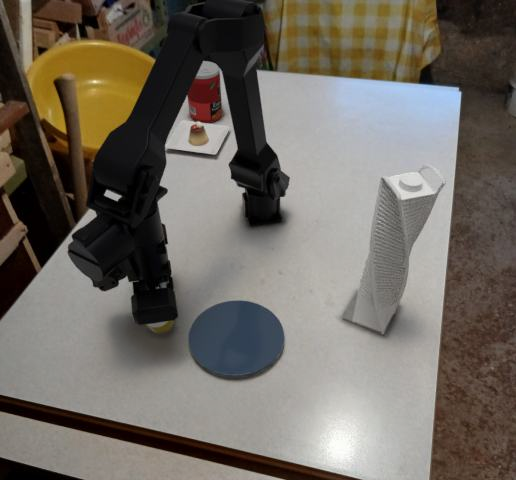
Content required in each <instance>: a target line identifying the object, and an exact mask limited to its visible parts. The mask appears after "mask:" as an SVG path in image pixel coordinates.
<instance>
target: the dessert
mask: <svg viewBox="0 0 516 480" xmlns="http://www.w3.org/2000/svg"><path fill="white" fill-rule="evenodd" d="M230 129H231V125H224V124H216V123H215V124H214V123H201V122H199V121H198V122H197V121H192V120H184V119H182V120H180V122H179V123H178V125H177V126H176V128H175V130H174V131H173V133H172V135H171V136H170V138H169V139H168V141H166V144H165V149H169V150H175V151H183V152H191V153H197V154H206V155H214V156H215V155H217V154H218V152H219V150H220V148H221V146H222V144H223V142H224V141H225V139H226V136H227V135H228V132H229V130H230Z"/></svg>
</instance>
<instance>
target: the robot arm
mask: <svg viewBox="0 0 516 480" xmlns="http://www.w3.org/2000/svg"><path fill="white" fill-rule="evenodd" d="M265 29H266V23H265V17H264V14H263V10H262V7H261V6H260V5H259V4H257V3H255V2H253V1H249V0H205V1H204V2H203V1H202V2H199V3H198V2H197V3H194V4H189V5H187V7H186V8H185V10H184V11H179V12H175V13H173V14H172V15H171V16H170V18H169V19H168V23H167V26H166V34H167V35H166V37H165V39H164V41H163V43H162V45H161V47H160V50H159V52H158V54H157V56H156V58H155V60H154V63H153V64H152V67H151V69H150V71H149V73H148V76H147V78H146V80H145V82H144V84H143V86H142V89H141V90H140V93H139V95H138V97H137V99H136V101H135V104H134V105H133V108H132V109H131V111H130V114H129V116H128V117H127V119H126V120H125V121H124V122H123V123H122V124H120V125H119V126H116V127H115V128H114V129H113V130H111V131H110V132H109V133H108V135H107V136H106V138H105V139H104V140H103V142H102V144H101V145H100V147H99V148H98V150H97V151H96V153H95V156H94V158H93V162H92V171H91V176H90V181H89V186H88V192H87V197H86V202H85V207H86V208H87V209H90V210H92V211H94V212H95V215H96V216H95V217H94V218H93V219H92V220H89V222H88V223H86V224H85V225H84V226H82V227H80V228H78V229H77V230H75V231H74V232H73V233H72V234H71V236H70V237H71V240H72V241H71V242H70V243H69V244H68V246H67V251H66V252H67V255H68V257H69V259H70V260H71V262H72V263H73V265H74V266H75V268H76V269H78V270H79V272H80V273H82V274H83V275H84V276H85V277H87V278H88V279H89V280H90V281H91V282H92V287H93V288H96V289H97V288H98V290H99V291H101V292H107V291H110V290H113V289H116V288H117V287H119V285H120V281H122V280H124V279H125V278H127V280H128V283H132V293H133V294H132V295H131V296H130V304H131V316H132V319H133V322H134V324H136V325H137V326H146V324H152V323H159V322H166V321H173V320H175V321H176V320H177V319H178V318H179V310H178V304H177V297H176V292H175V287H174V286H175V285H174V280H173V276H172V274H173V273H172V272H173V271H172V265H171V260H170V259H169V254H168V248H167V245H169V240H168V233H167V227H166V224H165V223H163V222H162V218H161V212H160V207H159V201H160V200H161V199H162V198H163V197H164V196H166V195H167V194H168V193H169V190H168V188H167V187H164V186H163V185H161V183H162V178H163V175H164V173H165V170H166V167H167V164H168V163H167V152H166V148H165V145H166V144H167V142H168V141H167V140H168V138H169V135H170V133H171V131H172V129H173V126H174V124H175V122H176V120H177V118H178V116H179V114H180V112H181V110H182V108H183V105H184V103H185V100H186V99H187V98H188V96H187V95H188V92H189V90H190V88H191V86H192V84H193V82H194V80H195V78H196V75H197V73H198V71H199V69H200V67H201V65H202V63H203V61H205V58H206V56H209V57H210V58H211V60H212V62H213V63H215V64H217V66H218V67H219V70H220V72H221V75H222V79H223V83H224V89H225V94H226V99H227V103H228V108H229V113H230V119H231V123H232V127H233V133H234V137H235V143H236V147H237V149H236V151H235V153H234V155H233V156H232V158H231V160H230V161H229V162H228V168H229V170H230V179H231V180H233V181H234V182H235V183H236V186H237V187H239V188H243V189H244V192H242V193H241V199H242V200H241V202H242V212H243V215H244V218H245V219H247V223H248V225H249V227H255V226H262V225H269V224H277V223H282V222H283V218H282V216H281V198H284V197H286V195H287V190H288V189H289V186H290V181H291V180H290V179H291V176H289V175H288V174H286V173H285V172H284V171H282V167H281V163H280V160H279V156H278V153H276V152H275V150H274V149H273V148H272V146H271V145H270V144H269V143H268V141H267V136H266V135H267V134H266V127H265V121H264V114H263V112H264V111H263V106H262V105H263V104H262V99H261V98H262V97H261V92H260V84H259V78H258V77H259V76H258V69H257V61H258V58H259V57H260V55H261V52H262V50H263V49H264V46H265V31H266V30H265ZM107 191H109V192H111V193H113V194H116V195H118V196H120V197H119V198H118V199H117V200H116V199H114V198H111V197H109V196H107V195H105V194H106V192H107Z"/></svg>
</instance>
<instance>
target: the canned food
mask: <svg viewBox="0 0 516 480" xmlns="http://www.w3.org/2000/svg"><path fill="white" fill-rule="evenodd" d="M220 72H221V69H220V68H219V67H218V66H217V64H216V63H215V62H214V61H208V60H204V61H203V63H202V65H201V67H200V69H199V71H198V73H197V75H196V78H195V80H194V82H193V84H192V86H191V88H190V90H189V92H188V95H187V103H188V111H189V112H188V113H189V115H190V117H191V119H192V120H194V122H198V121H199V122H201V123H208V124H211V123H214V122H216V121H218V120H219V119H220V118H221V117H222V114H223V105H222V104H223V103H222V87H221V73H220Z"/></svg>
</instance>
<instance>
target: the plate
mask: <svg viewBox="0 0 516 480" xmlns="http://www.w3.org/2000/svg"><path fill="white" fill-rule="evenodd" d="M187 341H188V347H189V351H190V353H191V355H192V357H193V359H194V360H195V362H197V364H198V365H199V366H200V367H201V368H203V369H204V370H206V371H207V372H209V373H211V374H214V375H217V376H219V377H224V378H232V379H235V378H236V379H237V378H239V379H240V378H246V377H251V376H254V375H257V374H259V373H261V372H263V371H265V370H266V369H268V368H270V367H271V366H272V365H273V364H274V363H275V362H276V361H277V360H278V358H279V357H280V355H281V353H282V351H283V349H284V344H285V331H284V328H283V325H282V323H281V321H280V319H279V318H278V317H277V316H276V314H275V313H274V312H272V310H270V309H269V308H267V307H265V306H264V305H261V304H259V303H258V302H257V303H256V302H254V301H253V302H252V301H248V300H238V299H237V300H227V301H222V302H218V303H216V304H214V305H212V306H210V307H208V308H206V309H205V310H203V311H202V312H201V313H200V314H199V315H197V316H196V318H195V319H194V321H193V322H192V324H191V326H190V328H189V332H188V340H187Z"/></svg>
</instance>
